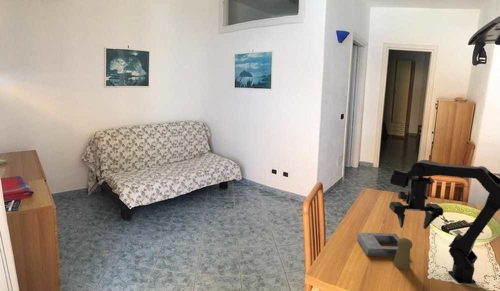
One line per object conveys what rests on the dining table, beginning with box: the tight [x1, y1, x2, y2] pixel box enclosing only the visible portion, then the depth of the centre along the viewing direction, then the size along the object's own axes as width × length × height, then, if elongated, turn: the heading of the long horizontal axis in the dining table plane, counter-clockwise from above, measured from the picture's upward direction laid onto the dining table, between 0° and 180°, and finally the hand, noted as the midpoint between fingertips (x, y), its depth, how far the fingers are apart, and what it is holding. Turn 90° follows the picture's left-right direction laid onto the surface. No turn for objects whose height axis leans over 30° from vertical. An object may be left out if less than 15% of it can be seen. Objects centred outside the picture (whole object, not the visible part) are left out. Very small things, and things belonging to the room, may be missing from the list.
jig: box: [356, 232, 401, 258], centre depth 134 cm, size 13×17×4 cm
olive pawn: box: [392, 237, 413, 271], centre depth 122 cm, size 6×6×11 cm
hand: (412, 228), depth 127 cm, fingers open, 9 cm apart
